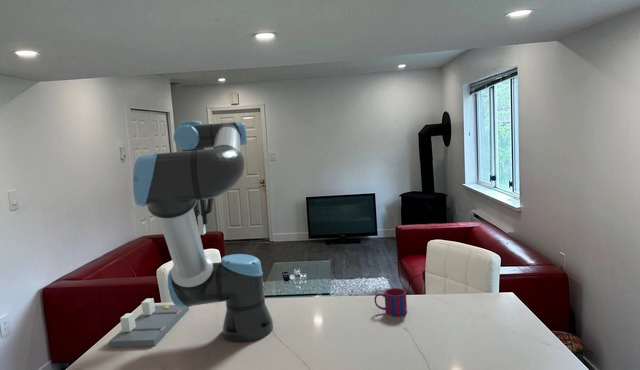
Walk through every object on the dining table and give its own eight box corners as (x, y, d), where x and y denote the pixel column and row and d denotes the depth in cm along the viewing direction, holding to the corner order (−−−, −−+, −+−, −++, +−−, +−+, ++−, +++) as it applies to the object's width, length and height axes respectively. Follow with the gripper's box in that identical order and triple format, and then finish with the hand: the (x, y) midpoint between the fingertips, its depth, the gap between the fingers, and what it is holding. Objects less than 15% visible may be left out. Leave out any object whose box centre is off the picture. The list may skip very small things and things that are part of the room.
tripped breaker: (150, 315, 142) (148, 302, 141) (143, 315, 142) (141, 302, 141) (155, 310, 145) (153, 298, 145) (148, 311, 145) (146, 298, 145)
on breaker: (129, 331, 130) (128, 317, 129) (122, 332, 130) (120, 318, 130) (135, 326, 133) (134, 313, 133) (128, 326, 134) (126, 313, 133)
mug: (406, 317, 130) (405, 296, 130) (374, 316, 133) (373, 295, 132) (407, 308, 137) (406, 288, 136) (376, 307, 139) (375, 287, 138)
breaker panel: (154, 346, 124) (153, 338, 124) (109, 347, 125) (108, 340, 125) (189, 309, 150) (188, 303, 149) (151, 311, 151) (150, 304, 151)
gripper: (217, 164, 148) (223, 230, 150) (180, 167, 148) (187, 232, 151) (211, 165, 140) (218, 235, 143) (172, 168, 141) (180, 237, 143)
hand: (202, 233), depth 147 cm, fingers closed
